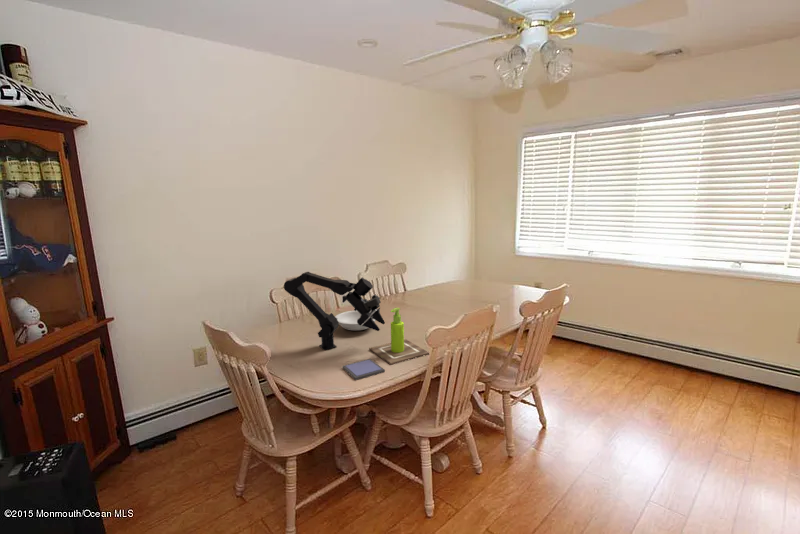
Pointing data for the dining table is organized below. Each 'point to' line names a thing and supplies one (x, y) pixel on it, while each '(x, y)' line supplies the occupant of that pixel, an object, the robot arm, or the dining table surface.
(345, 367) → the ink pad
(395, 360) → the board
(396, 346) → the soap dispenser
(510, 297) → the dining table surface
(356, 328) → the soup bowl
